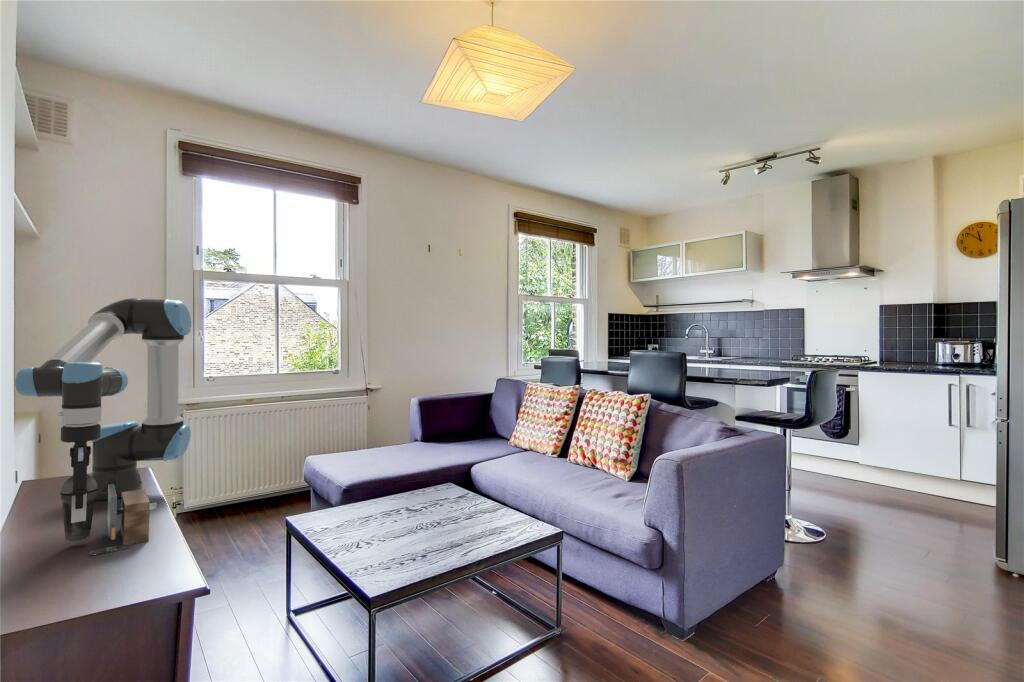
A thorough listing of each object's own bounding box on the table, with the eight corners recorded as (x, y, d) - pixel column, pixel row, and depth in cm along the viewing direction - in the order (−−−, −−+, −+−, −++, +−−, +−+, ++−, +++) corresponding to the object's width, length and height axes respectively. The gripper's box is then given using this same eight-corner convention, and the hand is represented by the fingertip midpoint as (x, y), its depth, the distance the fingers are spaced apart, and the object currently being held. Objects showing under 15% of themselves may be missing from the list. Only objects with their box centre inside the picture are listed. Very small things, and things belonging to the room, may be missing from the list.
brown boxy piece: (88, 556, 118) (89, 513, 118) (87, 535, 131) (89, 496, 131) (149, 544, 126) (150, 504, 126) (143, 525, 139) (144, 489, 139)
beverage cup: (103, 534, 127) (106, 455, 127) (70, 545, 120) (73, 461, 120) (84, 530, 129) (87, 452, 129) (50, 540, 122) (53, 458, 122)
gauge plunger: (109, 540, 122) (111, 499, 122) (107, 522, 134) (108, 484, 134) (160, 531, 128) (161, 491, 128) (153, 514, 140) (154, 478, 140)
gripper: (61, 420, 130) (59, 509, 130) (59, 431, 115) (56, 532, 114) (99, 418, 135) (96, 503, 134) (102, 428, 120) (99, 525, 119)
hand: (78, 516), depth 124 cm, fingers closed on beverage cup, 7 cm apart
